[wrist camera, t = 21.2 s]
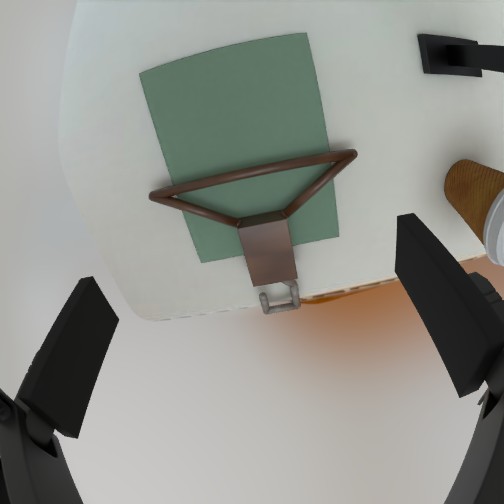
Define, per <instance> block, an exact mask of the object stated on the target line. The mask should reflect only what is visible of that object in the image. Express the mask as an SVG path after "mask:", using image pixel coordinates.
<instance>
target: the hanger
mask: <svg viewBox="0 0 504 504" xmlns="http://www.w3.org/2000/svg"><path fill="white" fill-rule="evenodd" d="M357 155H358V153H357V151H356V150H355V149H347V150H341V151H334V152H328V153H322V154H316V155H310V156H304V157H298V158H293V159H288V160H282V161H277V162H272V163H267V164H262V165H257V166H253V167H248V168H243V169H239V170H234V171H230V172H225V173H221V174H217V175H213V176H209V177H204V178H200V179H196V180H193V181H189V182H185V183H181V184H177V185H173V186H170V187H166V188H162V189H159V190H155V191H152V192H150V193H149V199H150V200H151V201H154V202H157V203H160V204H163V205H167V206H170V207H173V208H176V209H179V210H182V211H185V212H188V213H191V214H195V215H198V216H201V217H204V218H207V219H210V220H213V221H216V222H219V223H222V224H225V225H228V226H231V227H234V228H237V231H238V234H239V238H240V241H241V245H242V248H243V252H244V255H245V259H246V262H247V266H248V269H249V273H250V276H251V280H252V283H253V286H254V287H255V286H261V285H267V284H272V283H277V282H282V283H284V284H286V285H288V286H290V290H291V296H292V301H293V302H292V303H287V304H281V305H275V306H270V307H269V303H268V299H267V295H266V294H265V293H261V294H260V295H259V298H260V302H261V305H262V309H263V312H264V313H265V314H272V313H277V312H283V311H288V310H294V309H299V307H300V306H301V304H300V298H299V292H298V286H297V282H296V281H295V280H293V279H297V278H298V277H297V271H296V265H295V260H294V254H293V248H292V243H291V237H290V232H289V227H288V221H287V218H289V217H290V216H291V215H292V214H293V213H295V212H296V211H297V210H298V209H299V208H300V207H301V206H302V205H304V204H305V203H306V202H307V201H308V200H309V199H310V198H311V197H313V196H314V195H315V194H316V193H317V192H318V191H319V190H320V189H322V188H323V187H324V186H325V185H326V184H327V183H328V182H329V181H331V180H332V179H333V178H334V177H335V176H336V175H337V174H338V173H340V172H341V171H342V170H343V169H344V168H345V167H346V166H347V165H349V164H350V163H351V162H352V161H353V160H354V159H355V158H356V157H357ZM331 162H335V163H334V164H333V165H332V166H331V167H330V168H328V169H327V170H326V171H325V172H324V173H323V174H322V175H321V176H320V177H318V178H317V179H316V180H315V181H314V182H313V183H312V184H311V185H310V186H308V187H307V188H306V189H305V190H304V191H303V192H302V193H301V194H300V195H298V196H297V197H296V198H295V199H294V200H293V201H292V202H291V203H290V204H288V205H287V206H286V207H285V208H284V209H282V210H277V211H272V212H267V213H262V214H257V215H252V216H247V217H242V218H235V217H232V216H229V215H226V214H223V213H220V212H217V211H214V210H211V209H208V208H205V207H202V206H199V205H196V204H193V203H190V202H187V201H184V200H181V199H177V198H174V197H171V196H175V195H179V194H182V193H186V192H190V191H194V190H198V189H203V188H207V187H211V186H215V185H220V184H224V183H228V182H233V181H237V180H242V179H246V178H251V177H256V176H261V175H266V174H270V173H276V172H281V171H286V170H291V169H296V168H302V167H308V166H313V165H319V164H325V163H331Z"/></svg>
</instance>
